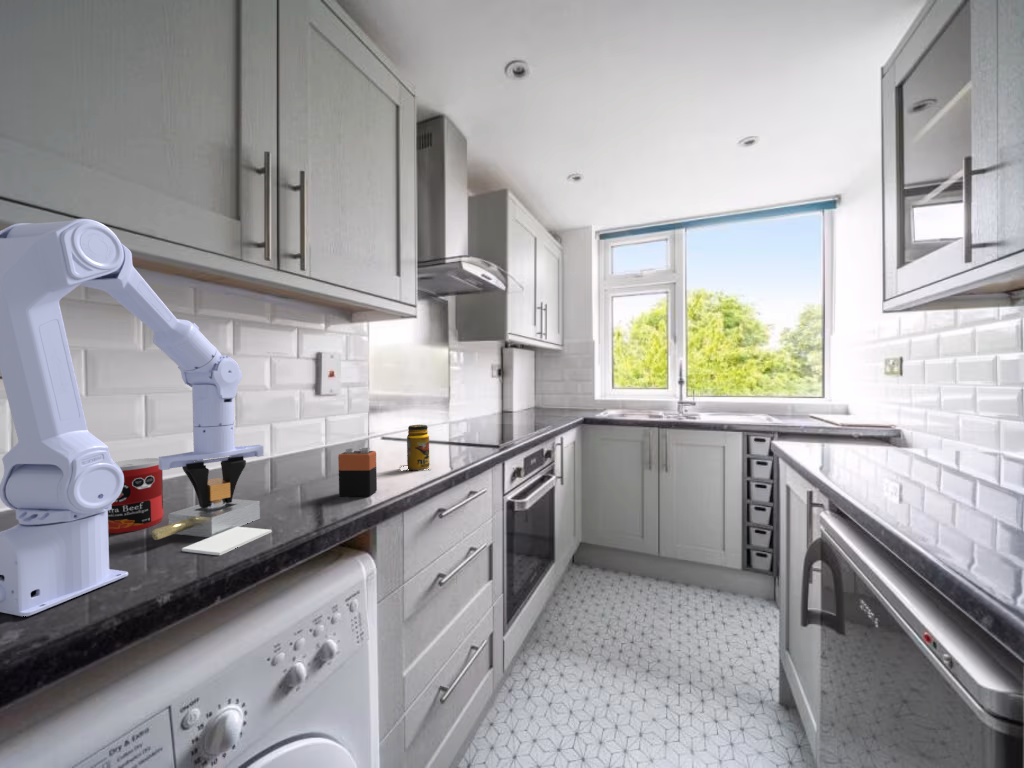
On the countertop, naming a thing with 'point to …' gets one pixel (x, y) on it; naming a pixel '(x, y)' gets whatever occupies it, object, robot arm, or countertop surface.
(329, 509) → the countertop surface
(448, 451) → the countertop surface
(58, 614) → the countertop surface
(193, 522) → the hollow block with rod
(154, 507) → the canned food
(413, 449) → the condiment
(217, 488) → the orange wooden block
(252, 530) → the mat
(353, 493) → the battery
